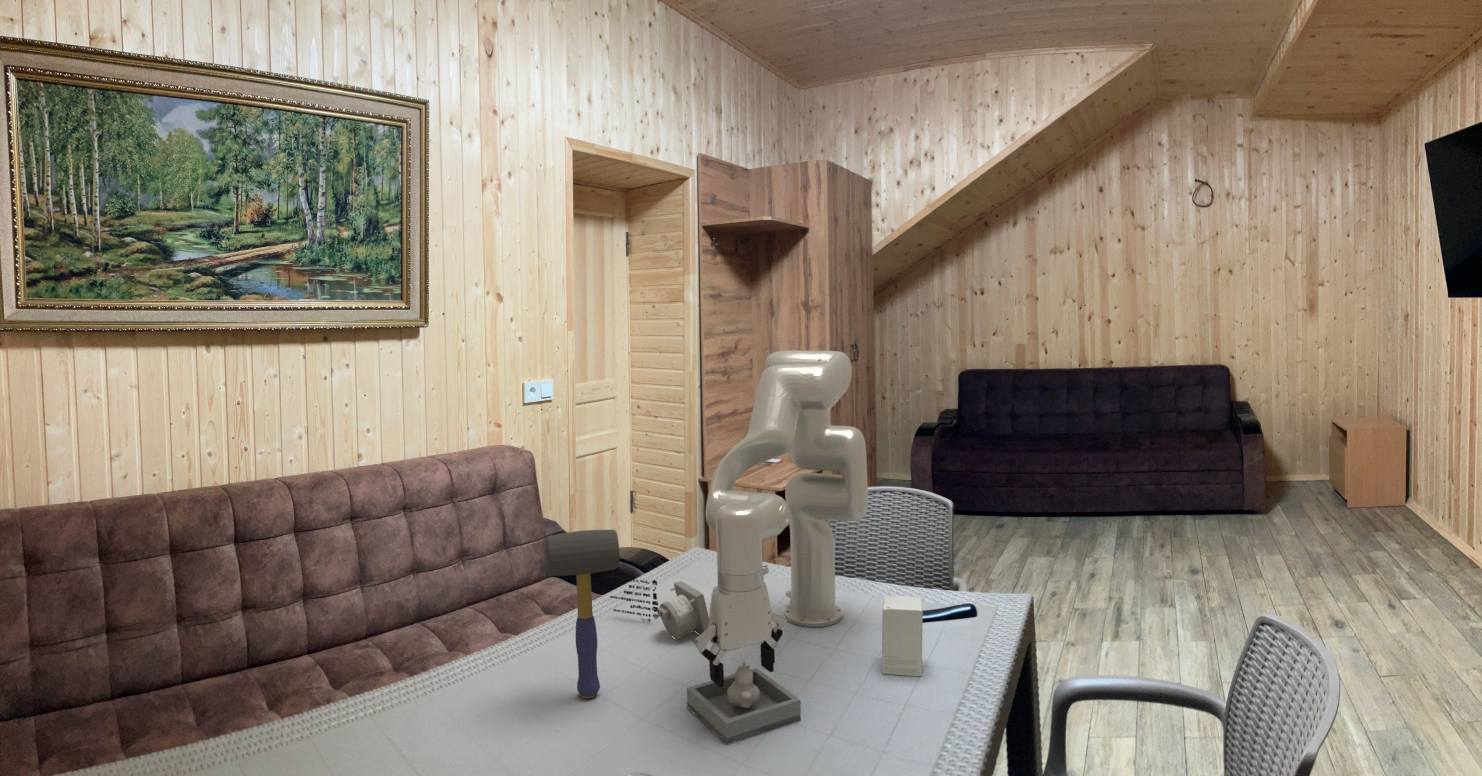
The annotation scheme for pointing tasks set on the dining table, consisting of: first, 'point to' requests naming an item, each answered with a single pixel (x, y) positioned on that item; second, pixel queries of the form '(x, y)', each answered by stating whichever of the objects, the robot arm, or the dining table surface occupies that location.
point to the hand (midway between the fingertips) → (743, 676)
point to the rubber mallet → (584, 589)
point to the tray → (738, 721)
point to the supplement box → (902, 635)
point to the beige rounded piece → (743, 688)
